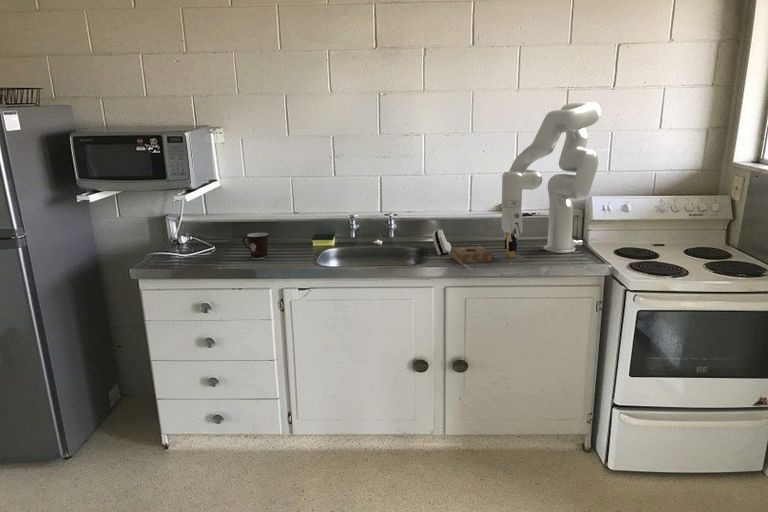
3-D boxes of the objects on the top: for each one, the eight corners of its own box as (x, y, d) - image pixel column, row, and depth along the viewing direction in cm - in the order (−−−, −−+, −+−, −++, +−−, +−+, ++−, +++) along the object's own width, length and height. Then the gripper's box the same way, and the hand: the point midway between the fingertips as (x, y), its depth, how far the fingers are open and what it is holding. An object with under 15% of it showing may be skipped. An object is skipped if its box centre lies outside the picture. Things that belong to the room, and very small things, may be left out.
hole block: (480, 255, 231) (480, 246, 230) (491, 262, 219) (491, 252, 218) (452, 257, 228) (452, 248, 227) (461, 264, 217) (461, 254, 216)
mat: (517, 255, 230) (517, 253, 230) (529, 261, 220) (529, 259, 219) (491, 257, 228) (491, 255, 228) (502, 263, 218) (502, 262, 217)
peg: (512, 256, 225) (512, 231, 223) (515, 258, 223) (516, 233, 220) (505, 257, 225) (505, 232, 223) (508, 258, 222) (508, 233, 220)
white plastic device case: (450, 255, 234) (442, 232, 232) (439, 258, 235) (431, 236, 233) (451, 246, 250) (443, 225, 248) (441, 249, 251) (433, 229, 249)
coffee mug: (273, 258, 236) (271, 234, 234) (254, 261, 231) (252, 237, 228) (260, 253, 245) (259, 231, 242) (242, 256, 239) (240, 233, 237)
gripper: (530, 206, 212) (528, 254, 216) (511, 200, 227) (510, 245, 232) (511, 207, 210) (510, 255, 215) (494, 201, 226) (493, 246, 230)
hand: (510, 249), depth 223 cm, fingers closed on peg, 3 cm apart
